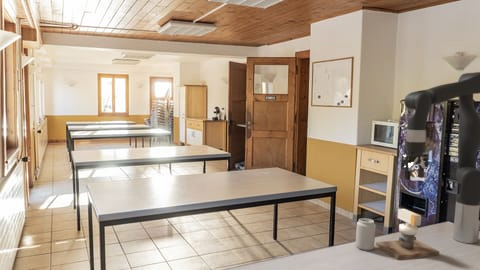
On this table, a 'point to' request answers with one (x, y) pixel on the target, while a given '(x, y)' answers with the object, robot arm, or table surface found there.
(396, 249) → the lock base
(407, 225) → the twist knob
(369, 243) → the can
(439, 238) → the table surface
